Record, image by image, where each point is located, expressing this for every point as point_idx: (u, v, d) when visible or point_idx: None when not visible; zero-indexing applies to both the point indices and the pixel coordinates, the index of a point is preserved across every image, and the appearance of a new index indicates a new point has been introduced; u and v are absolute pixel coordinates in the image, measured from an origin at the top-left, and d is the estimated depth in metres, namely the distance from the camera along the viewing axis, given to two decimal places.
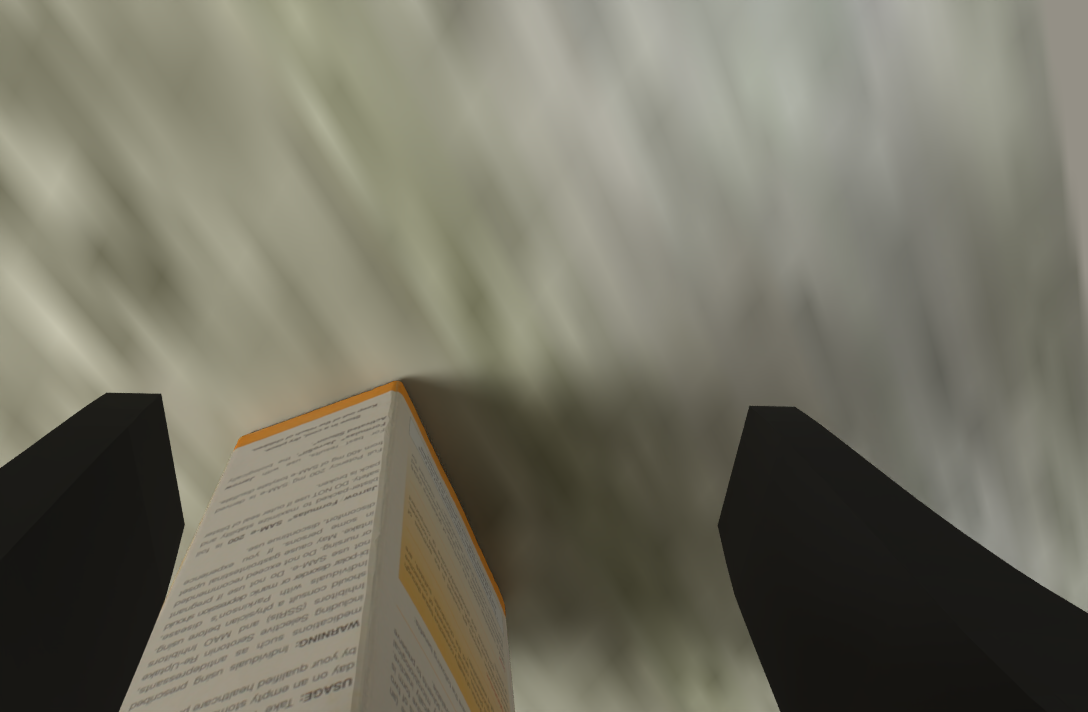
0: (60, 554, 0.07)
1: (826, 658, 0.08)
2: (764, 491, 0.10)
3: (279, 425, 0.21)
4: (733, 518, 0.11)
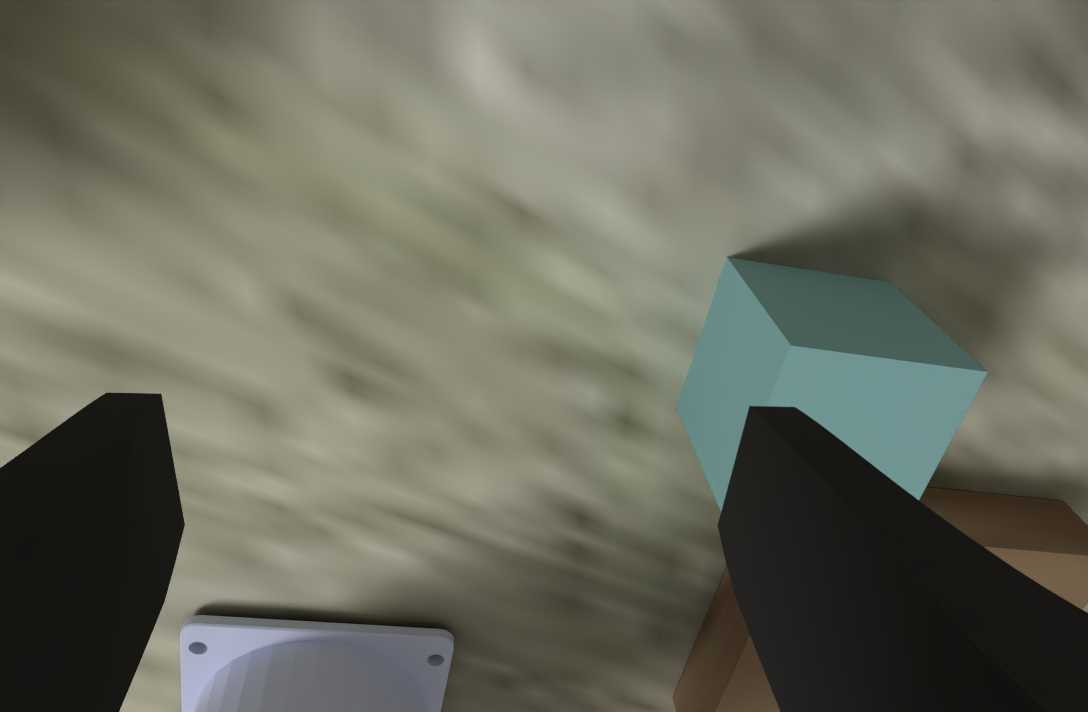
0: (60, 554, 0.07)
1: (826, 658, 0.09)
2: (764, 491, 0.10)
3: None
4: (733, 518, 0.11)
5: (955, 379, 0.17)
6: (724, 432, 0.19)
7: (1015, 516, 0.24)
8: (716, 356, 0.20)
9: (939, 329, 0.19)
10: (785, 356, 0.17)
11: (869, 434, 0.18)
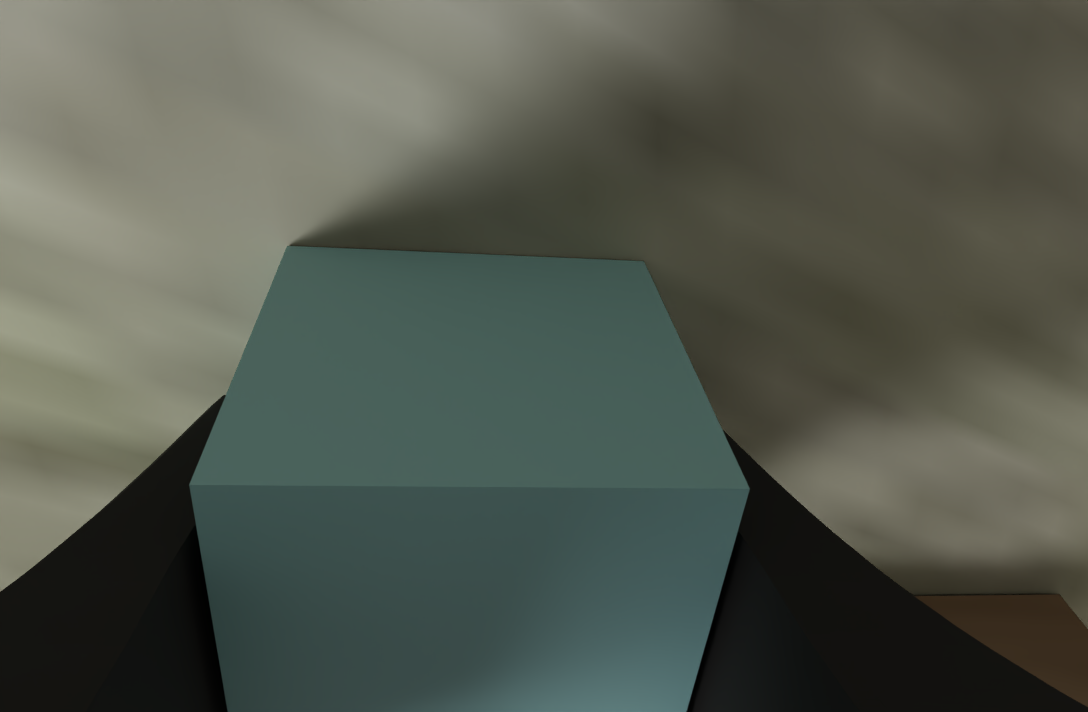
0: None
1: (705, 661, 0.08)
2: None
3: None
4: None
5: (669, 512, 0.07)
6: None
7: None
8: None
9: (687, 369, 0.09)
10: (194, 511, 0.07)
11: (504, 642, 0.08)
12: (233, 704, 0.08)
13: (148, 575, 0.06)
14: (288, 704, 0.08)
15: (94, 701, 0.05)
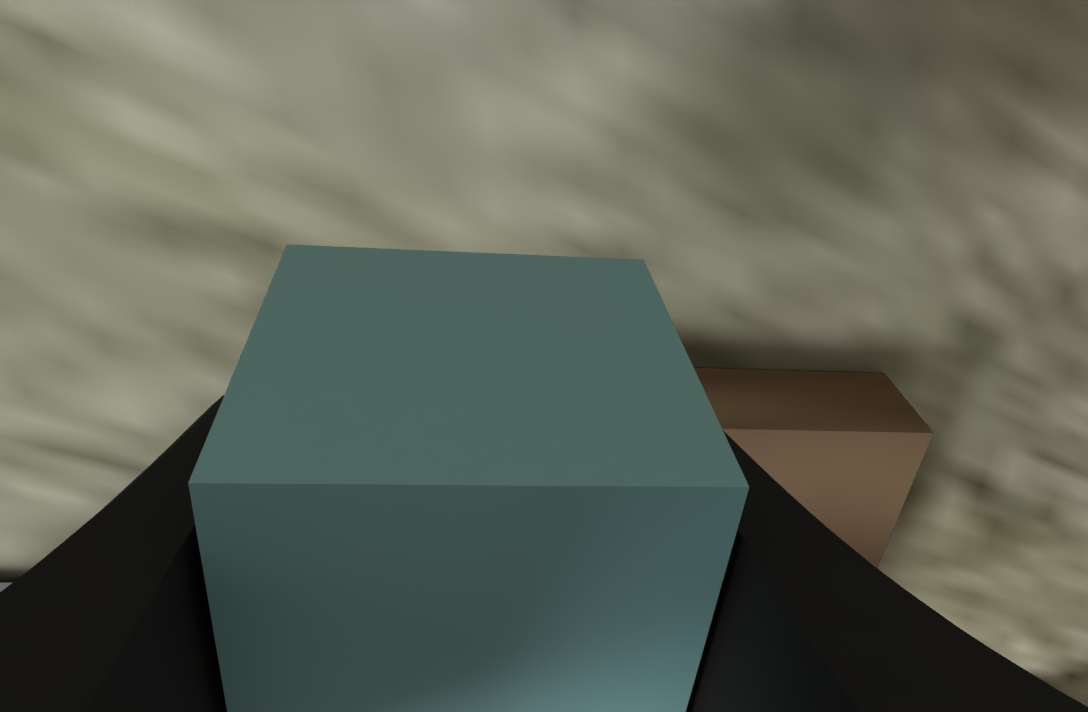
0: None
1: (705, 661, 0.08)
2: None
3: None
4: None
5: (669, 510, 0.07)
6: None
7: (808, 393, 0.20)
8: None
9: (687, 368, 0.09)
10: (193, 509, 0.07)
11: (502, 640, 0.08)
12: (232, 703, 0.08)
13: (148, 575, 0.06)
14: (289, 702, 0.08)
15: (94, 701, 0.05)
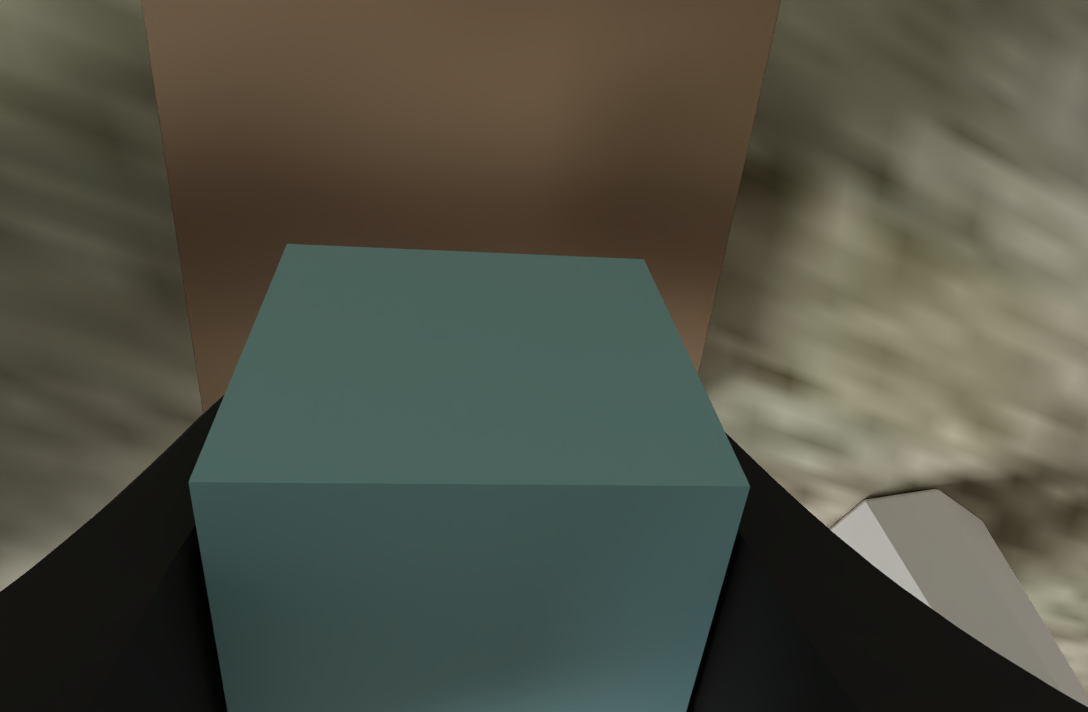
0: None
1: (705, 661, 0.08)
2: None
3: None
4: None
5: (669, 509, 0.07)
6: None
7: None
8: None
9: (688, 367, 0.09)
10: (193, 508, 0.07)
11: (503, 640, 0.08)
12: (233, 702, 0.08)
13: (148, 575, 0.06)
14: (288, 702, 0.08)
15: (94, 701, 0.05)
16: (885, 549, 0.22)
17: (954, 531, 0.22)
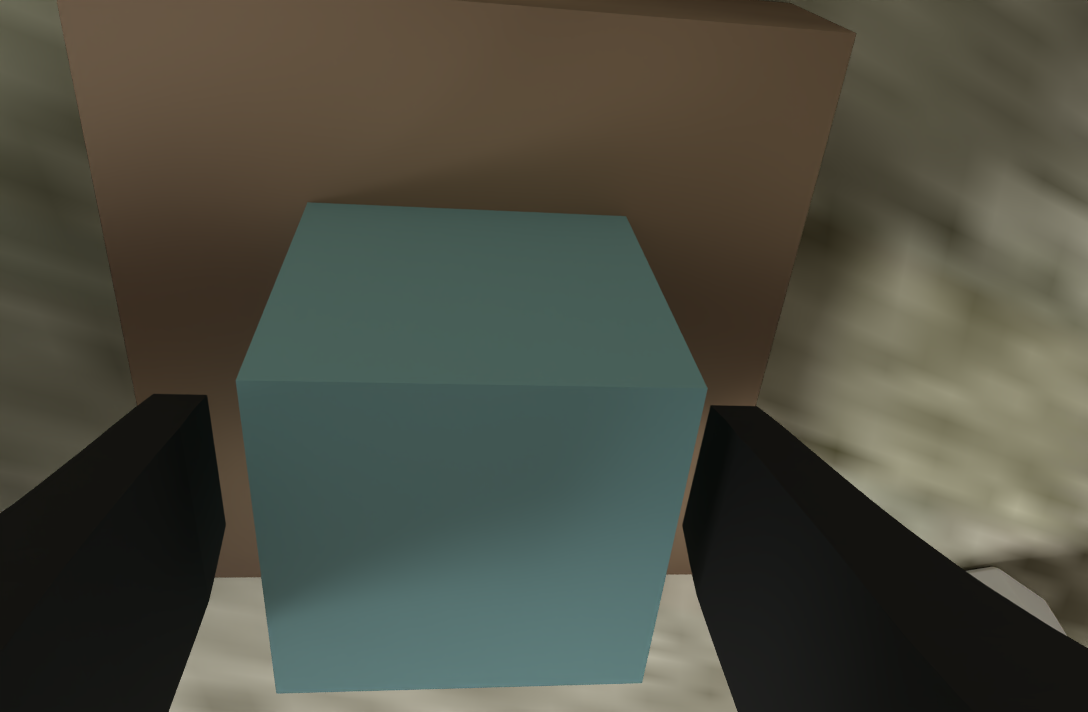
0: (120, 554, 0.07)
1: (779, 659, 0.08)
2: (723, 491, 0.10)
3: None
4: (696, 518, 0.11)
5: (640, 410, 0.08)
6: None
7: (655, 0, 0.12)
8: None
9: (660, 300, 0.10)
10: (239, 404, 0.08)
11: (500, 529, 0.09)
12: (268, 584, 0.09)
13: (41, 576, 0.06)
14: (316, 585, 0.09)
15: None
16: None
17: None
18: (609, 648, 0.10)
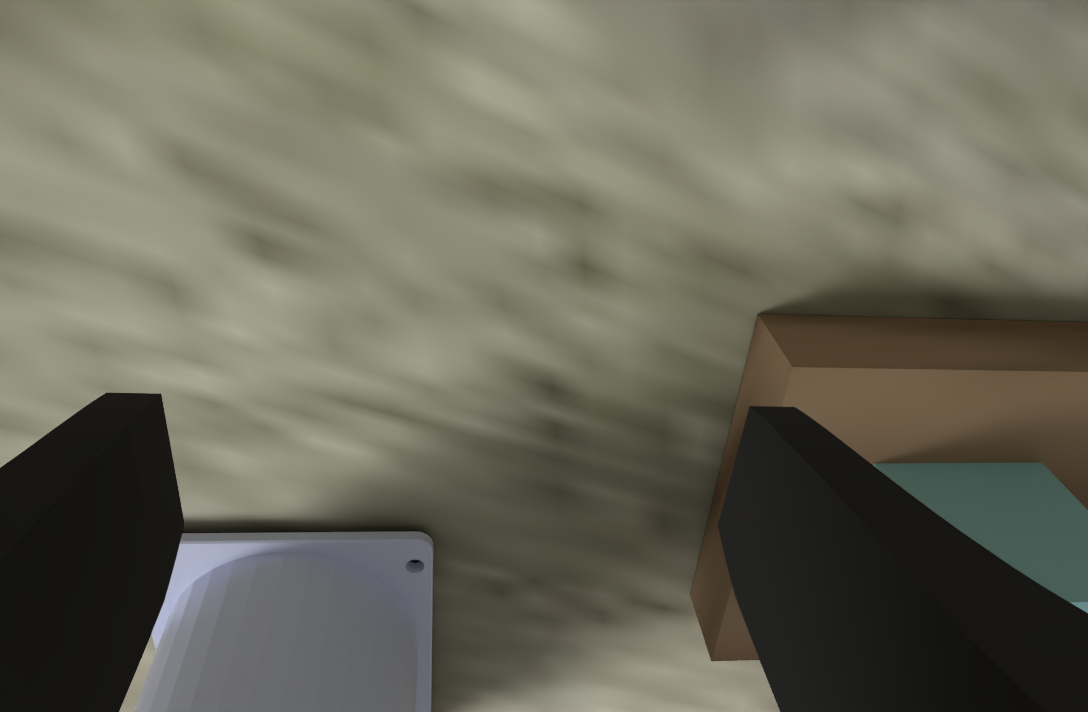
0: (60, 554, 0.07)
1: (826, 658, 0.09)
2: (764, 491, 0.10)
3: None
4: (733, 518, 0.11)
5: None
6: None
7: (1059, 340, 0.21)
8: None
9: None
10: None
11: None
12: None
13: None
14: None
15: None
16: None
17: None
18: None
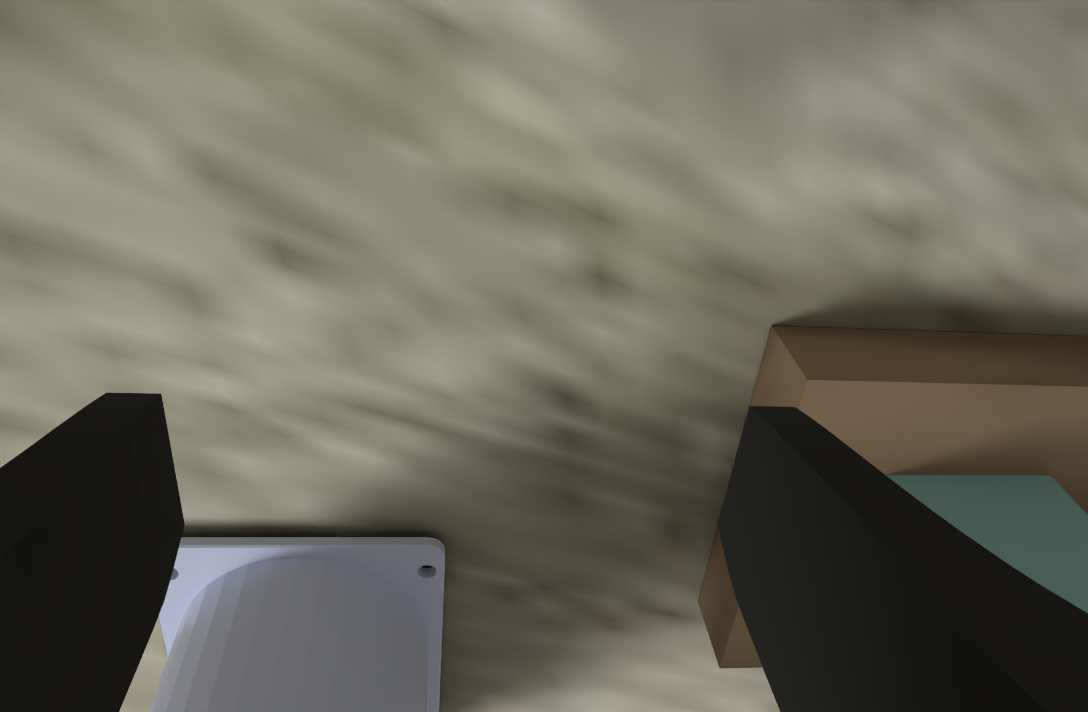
0: (60, 554, 0.07)
1: (826, 658, 0.09)
2: (764, 491, 0.10)
3: None
4: (733, 518, 0.11)
5: None
6: None
7: (1069, 354, 0.21)
8: None
9: None
10: None
11: None
12: None
13: None
14: None
15: None
16: None
17: None
18: None
